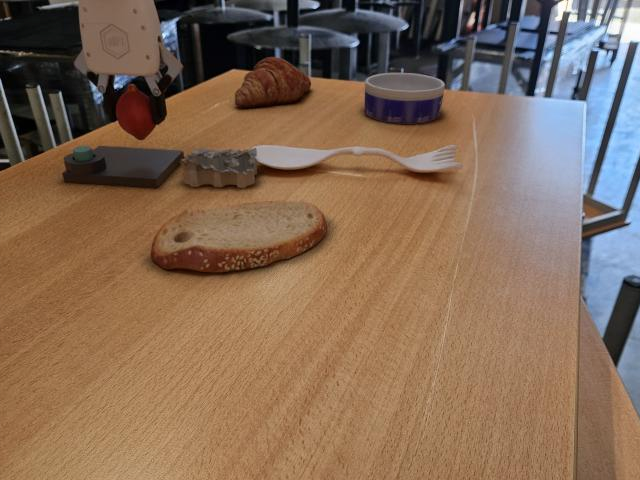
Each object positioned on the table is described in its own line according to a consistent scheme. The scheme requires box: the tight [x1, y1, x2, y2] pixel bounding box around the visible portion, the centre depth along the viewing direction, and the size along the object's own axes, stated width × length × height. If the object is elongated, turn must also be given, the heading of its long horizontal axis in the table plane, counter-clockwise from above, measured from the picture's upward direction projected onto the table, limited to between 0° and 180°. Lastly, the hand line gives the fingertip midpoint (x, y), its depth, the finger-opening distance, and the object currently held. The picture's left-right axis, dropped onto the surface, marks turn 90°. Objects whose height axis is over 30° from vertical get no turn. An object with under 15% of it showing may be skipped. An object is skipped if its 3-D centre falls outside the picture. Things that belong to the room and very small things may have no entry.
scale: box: [61, 145, 185, 189], centre depth 86 cm, size 14×12×3 cm
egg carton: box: [180, 147, 258, 189], centre depth 84 cm, size 11×8×4 cm
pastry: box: [234, 56, 312, 109], centre depth 119 cm, size 17×15×8 cm
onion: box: [116, 83, 157, 141], centre depth 83 cm, size 6×6×8 cm
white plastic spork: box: [251, 144, 464, 173], centre depth 87 cm, size 9×32×4 cm, turn 85°
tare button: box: [72, 145, 94, 161], centre depth 83 cm, size 3×3×2 cm
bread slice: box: [150, 199, 328, 274], centre depth 68 cm, size 18×18×4 cm
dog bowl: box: [364, 72, 446, 125], centre depth 112 cm, size 15×15×6 cm
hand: (137, 119), depth 84 cm, fingers closed on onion, 5 cm apart
